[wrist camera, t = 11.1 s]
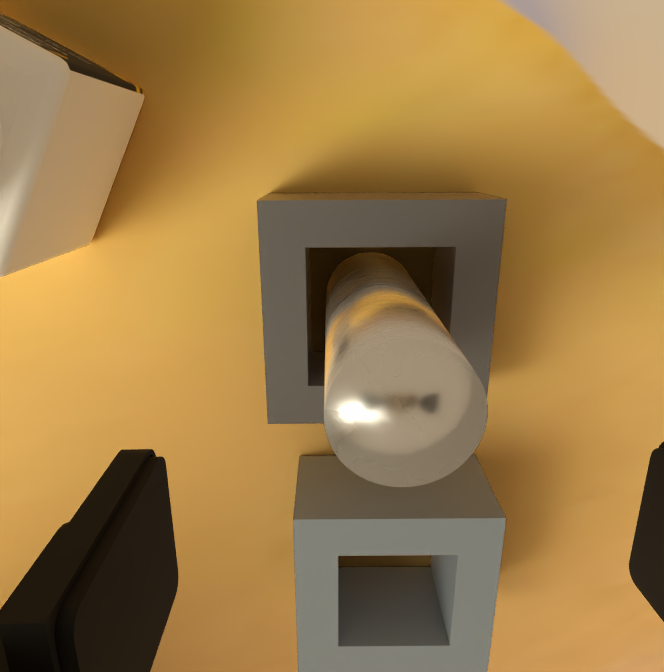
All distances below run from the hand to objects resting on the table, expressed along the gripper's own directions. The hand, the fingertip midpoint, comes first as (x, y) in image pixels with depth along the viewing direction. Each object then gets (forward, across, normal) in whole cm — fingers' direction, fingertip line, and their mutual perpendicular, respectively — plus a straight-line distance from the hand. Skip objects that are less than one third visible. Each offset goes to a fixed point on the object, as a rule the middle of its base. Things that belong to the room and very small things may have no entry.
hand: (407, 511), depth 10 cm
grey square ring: (+15, -1, -1) cm, 15 cm away
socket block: (+15, -2, +12) cm, 20 cm away
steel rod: (+15, -1, -1) cm, 15 cm away
